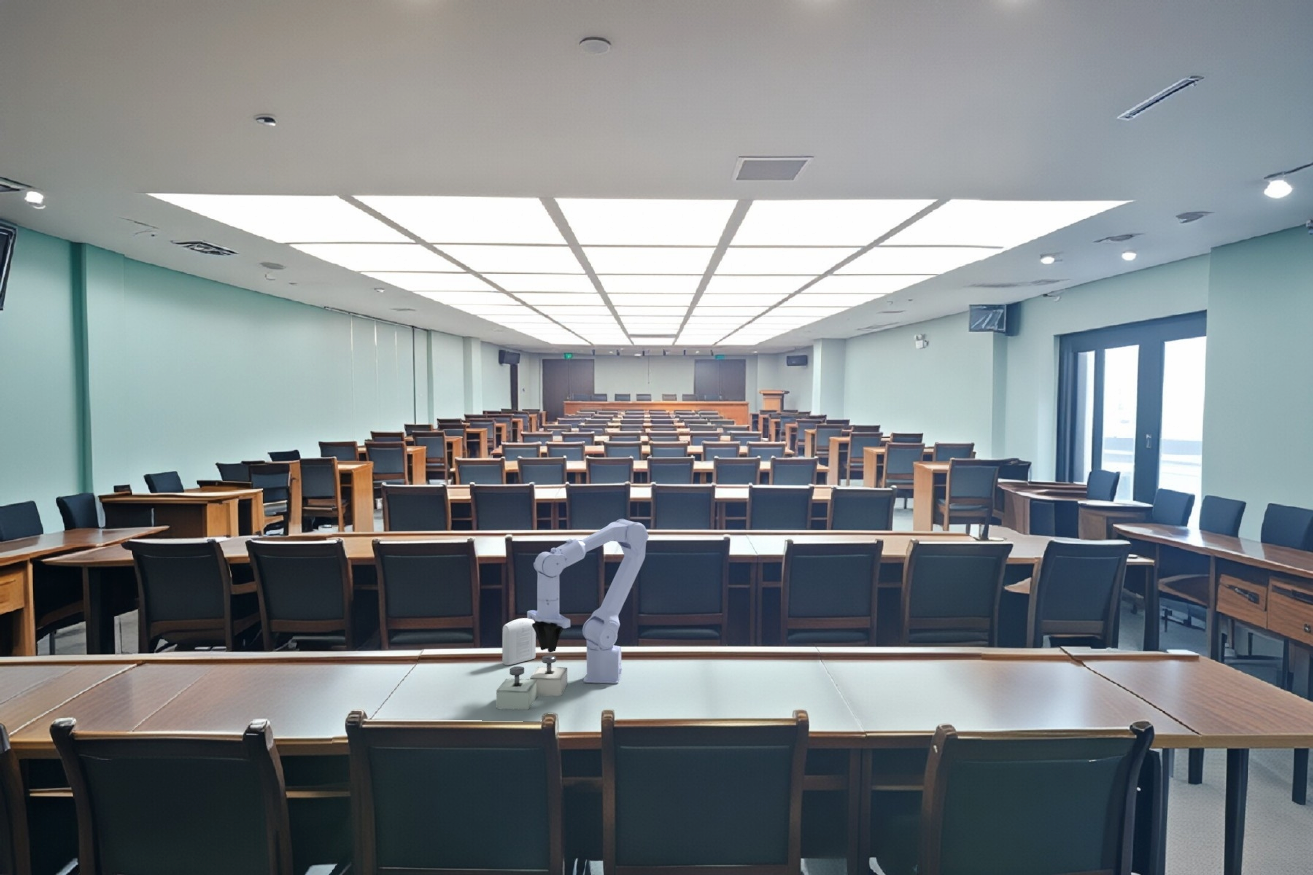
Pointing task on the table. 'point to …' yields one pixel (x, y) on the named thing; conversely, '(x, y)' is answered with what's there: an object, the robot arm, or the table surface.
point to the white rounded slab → (518, 641)
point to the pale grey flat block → (516, 694)
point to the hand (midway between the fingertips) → (548, 650)
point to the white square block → (550, 681)
